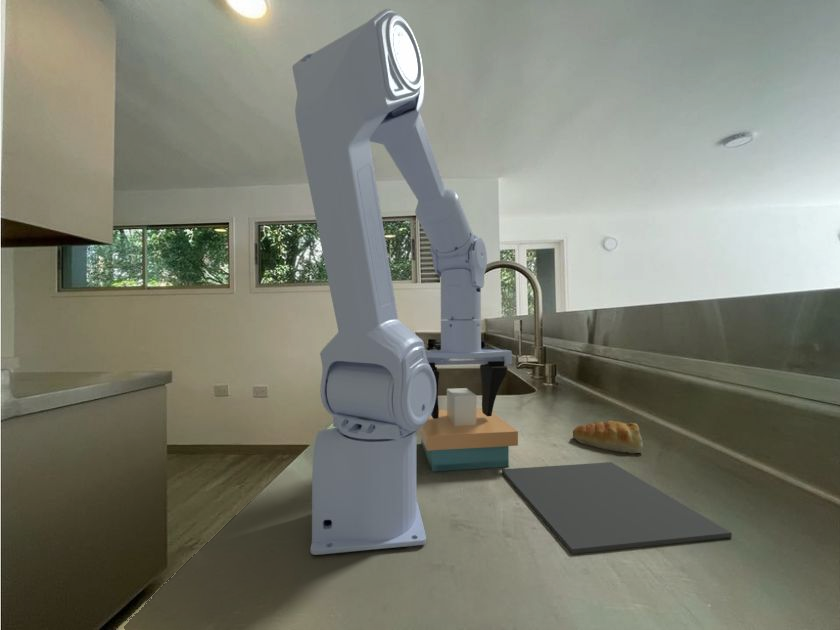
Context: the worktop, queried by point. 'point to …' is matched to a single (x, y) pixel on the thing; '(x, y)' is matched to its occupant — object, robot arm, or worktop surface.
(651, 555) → the worktop surface
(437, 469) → the box
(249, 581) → the worktop surface
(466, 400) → the lid
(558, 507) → the mat
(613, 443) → the pastry
